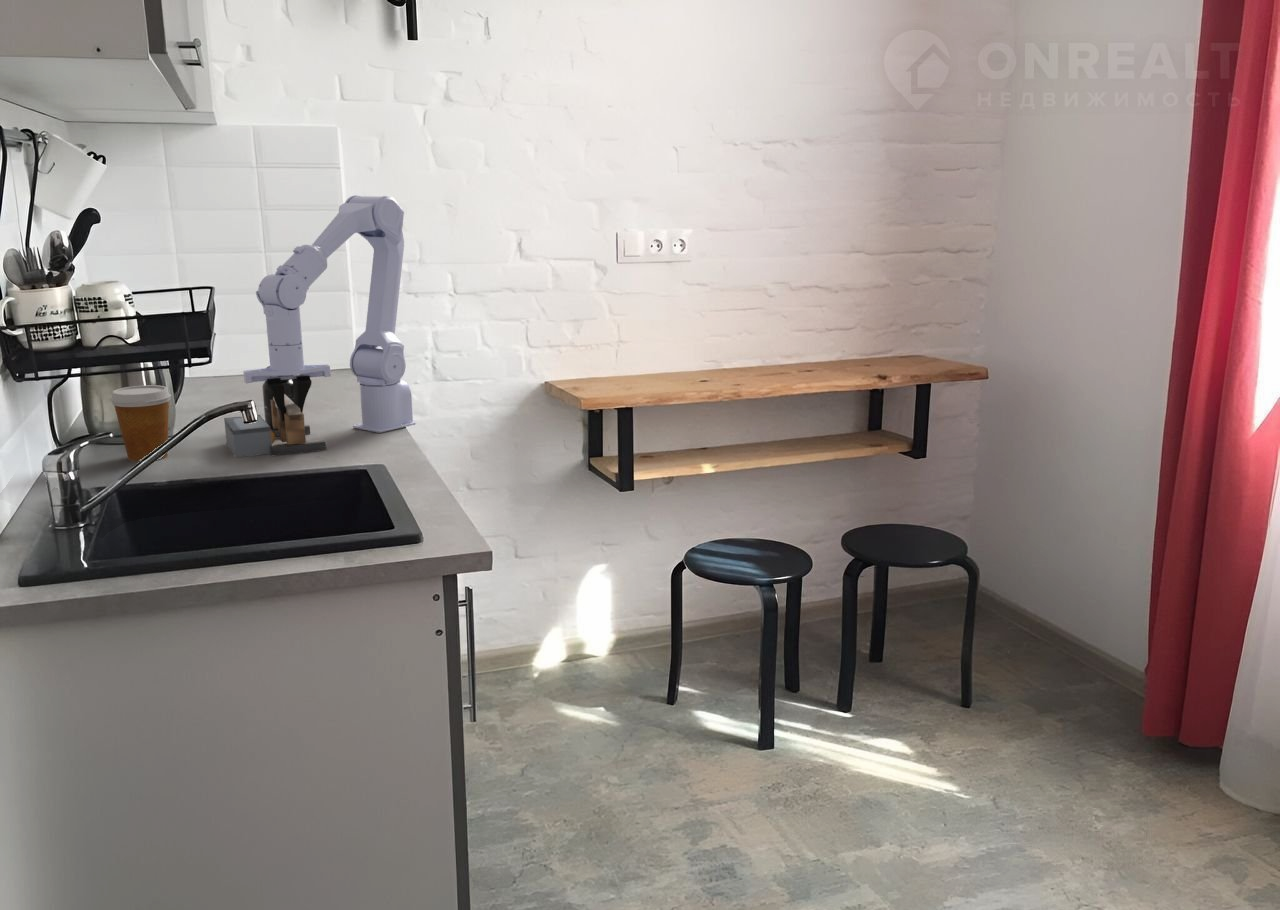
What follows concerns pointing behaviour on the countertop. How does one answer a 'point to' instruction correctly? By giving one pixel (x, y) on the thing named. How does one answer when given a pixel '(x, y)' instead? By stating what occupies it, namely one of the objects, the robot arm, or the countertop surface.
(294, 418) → the tan piece
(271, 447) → the rail frame
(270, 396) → the supplement bottle
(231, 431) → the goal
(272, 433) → the ball
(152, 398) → the disposable coffee cup
